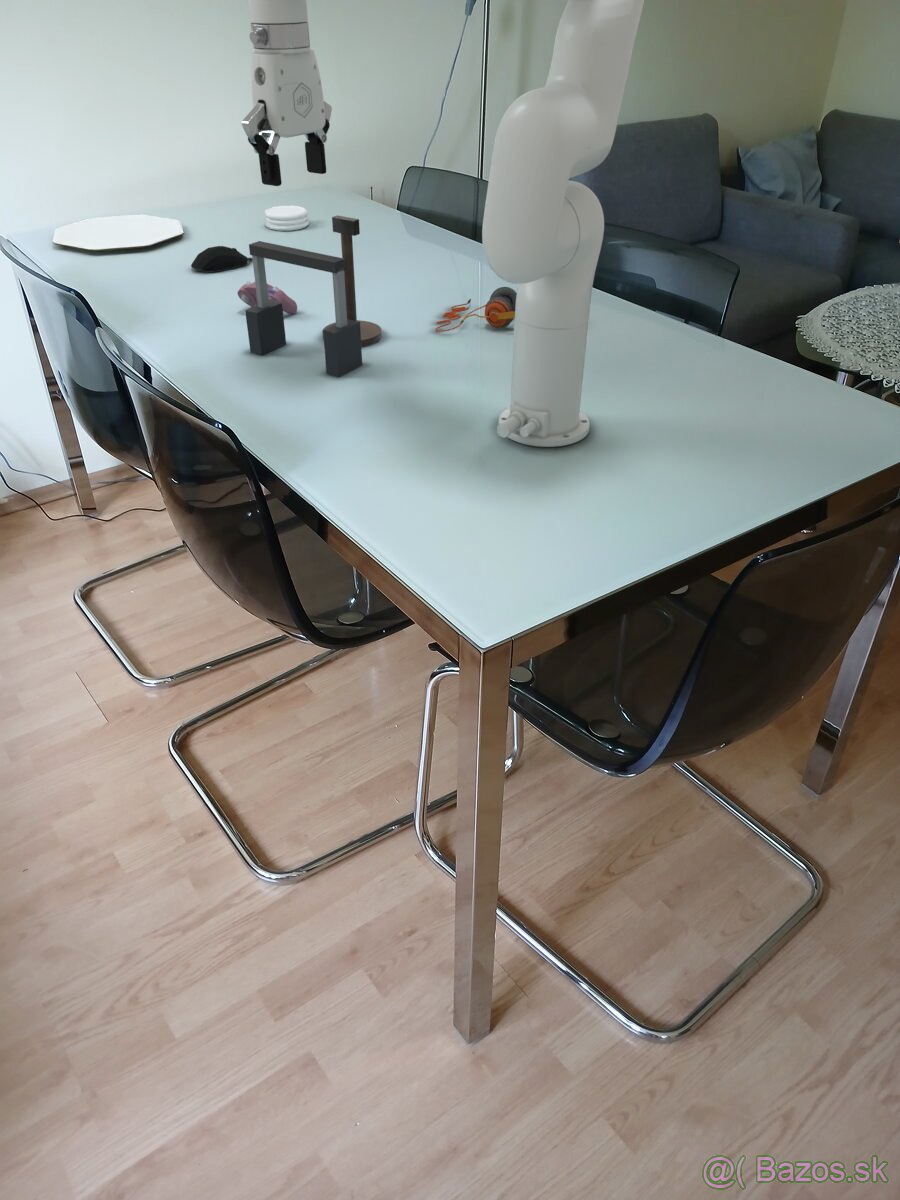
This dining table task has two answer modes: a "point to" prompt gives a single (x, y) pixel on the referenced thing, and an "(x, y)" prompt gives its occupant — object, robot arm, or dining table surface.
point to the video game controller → (274, 293)
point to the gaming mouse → (219, 259)
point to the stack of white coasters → (286, 218)
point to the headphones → (489, 309)
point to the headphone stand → (348, 229)
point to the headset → (268, 315)
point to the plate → (117, 232)
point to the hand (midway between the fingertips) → (295, 178)
